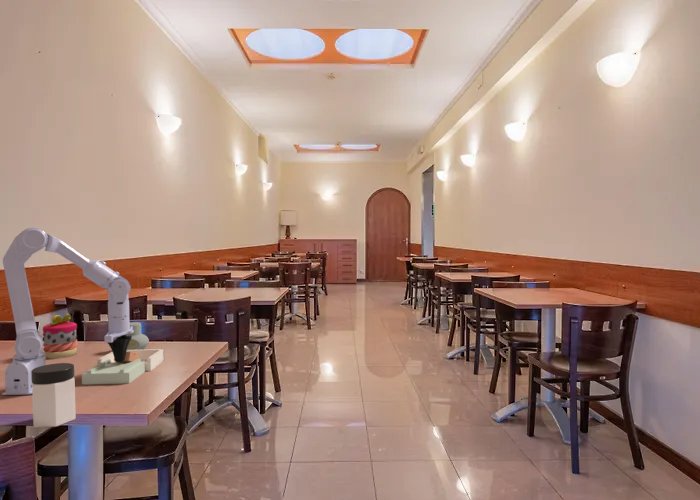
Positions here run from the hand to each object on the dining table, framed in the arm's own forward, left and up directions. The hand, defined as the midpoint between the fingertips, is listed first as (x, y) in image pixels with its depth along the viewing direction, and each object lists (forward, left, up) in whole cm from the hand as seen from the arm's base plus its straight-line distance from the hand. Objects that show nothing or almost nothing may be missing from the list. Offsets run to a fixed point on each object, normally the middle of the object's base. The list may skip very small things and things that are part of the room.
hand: (120, 361), depth 139 cm
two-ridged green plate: (-3, 0, -4) cm, 5 cm away
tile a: (+3, 0, -1) cm, 3 cm away
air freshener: (+31, +9, -4) cm, 33 cm away
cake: (+26, +32, -4) cm, 42 cm away
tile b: (+6, 0, -1) cm, 6 cm away
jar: (-36, -1, -4) cm, 36 cm away
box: (+9, 0, -4) cm, 10 cm away
